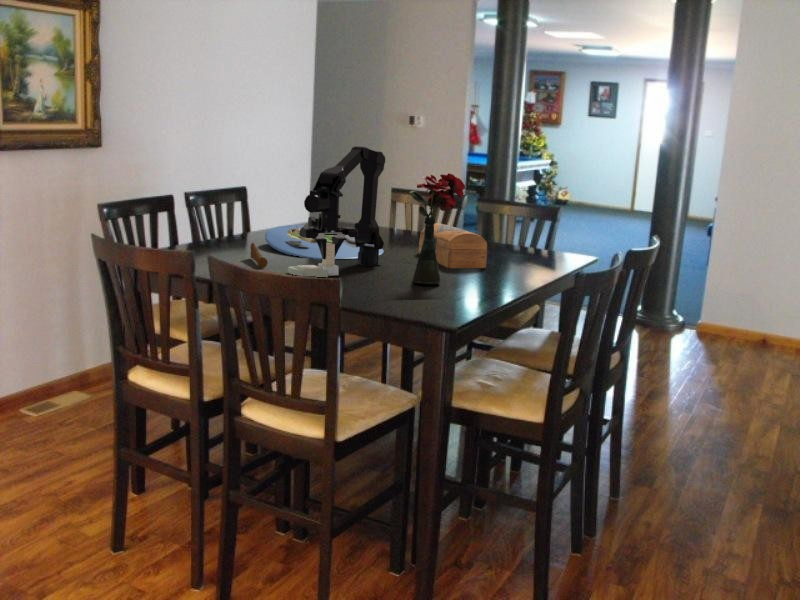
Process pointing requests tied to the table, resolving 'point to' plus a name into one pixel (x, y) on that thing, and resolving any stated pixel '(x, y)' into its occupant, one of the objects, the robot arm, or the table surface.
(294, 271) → the bay
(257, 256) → the primitive tool
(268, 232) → the serving platter
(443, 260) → the wooden box
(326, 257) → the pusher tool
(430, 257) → the carnation
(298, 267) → the tile
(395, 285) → the table surface
